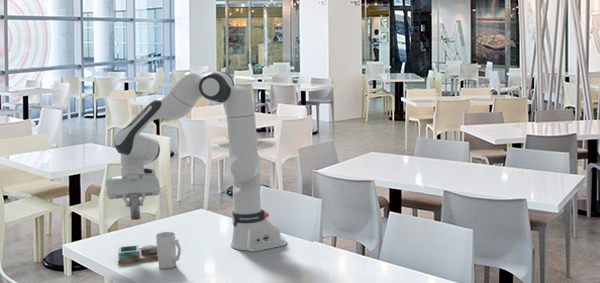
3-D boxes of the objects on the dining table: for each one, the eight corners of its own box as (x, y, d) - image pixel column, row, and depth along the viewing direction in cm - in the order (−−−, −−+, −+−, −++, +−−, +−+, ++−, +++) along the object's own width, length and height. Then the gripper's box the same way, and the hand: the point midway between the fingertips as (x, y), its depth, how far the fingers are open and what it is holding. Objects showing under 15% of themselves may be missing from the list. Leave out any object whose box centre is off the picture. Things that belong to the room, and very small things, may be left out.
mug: (154, 267, 208) (152, 235, 206) (167, 261, 214) (165, 230, 212) (175, 272, 203) (173, 239, 202) (187, 265, 209) (185, 234, 207)
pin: (140, 216, 224) (138, 192, 223) (140, 219, 221) (138, 194, 219) (130, 217, 223) (129, 192, 222) (130, 220, 220) (129, 195, 218)
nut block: (157, 249, 228) (157, 239, 227) (159, 259, 216) (159, 249, 216) (118, 254, 223) (118, 244, 223) (118, 264, 212) (117, 254, 211)
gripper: (105, 173, 223) (105, 203, 215) (158, 169, 228) (161, 199, 221) (106, 182, 228) (107, 212, 220) (158, 178, 233) (161, 207, 226)
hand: (134, 205), depth 220 cm, fingers closed on pin, 4 cm apart
